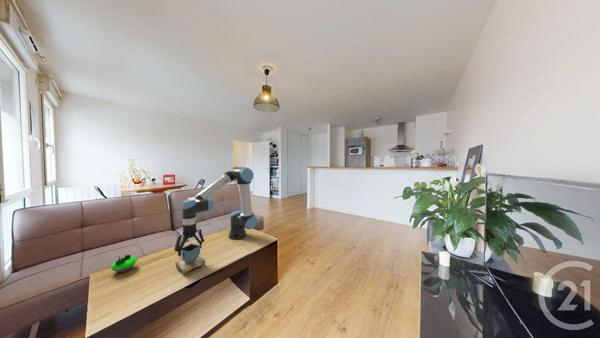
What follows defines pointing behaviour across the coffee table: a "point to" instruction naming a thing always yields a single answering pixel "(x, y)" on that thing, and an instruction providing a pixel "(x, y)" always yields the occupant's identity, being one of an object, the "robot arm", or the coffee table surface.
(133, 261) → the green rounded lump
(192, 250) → the flower pot
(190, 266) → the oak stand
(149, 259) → the coffee table surface
